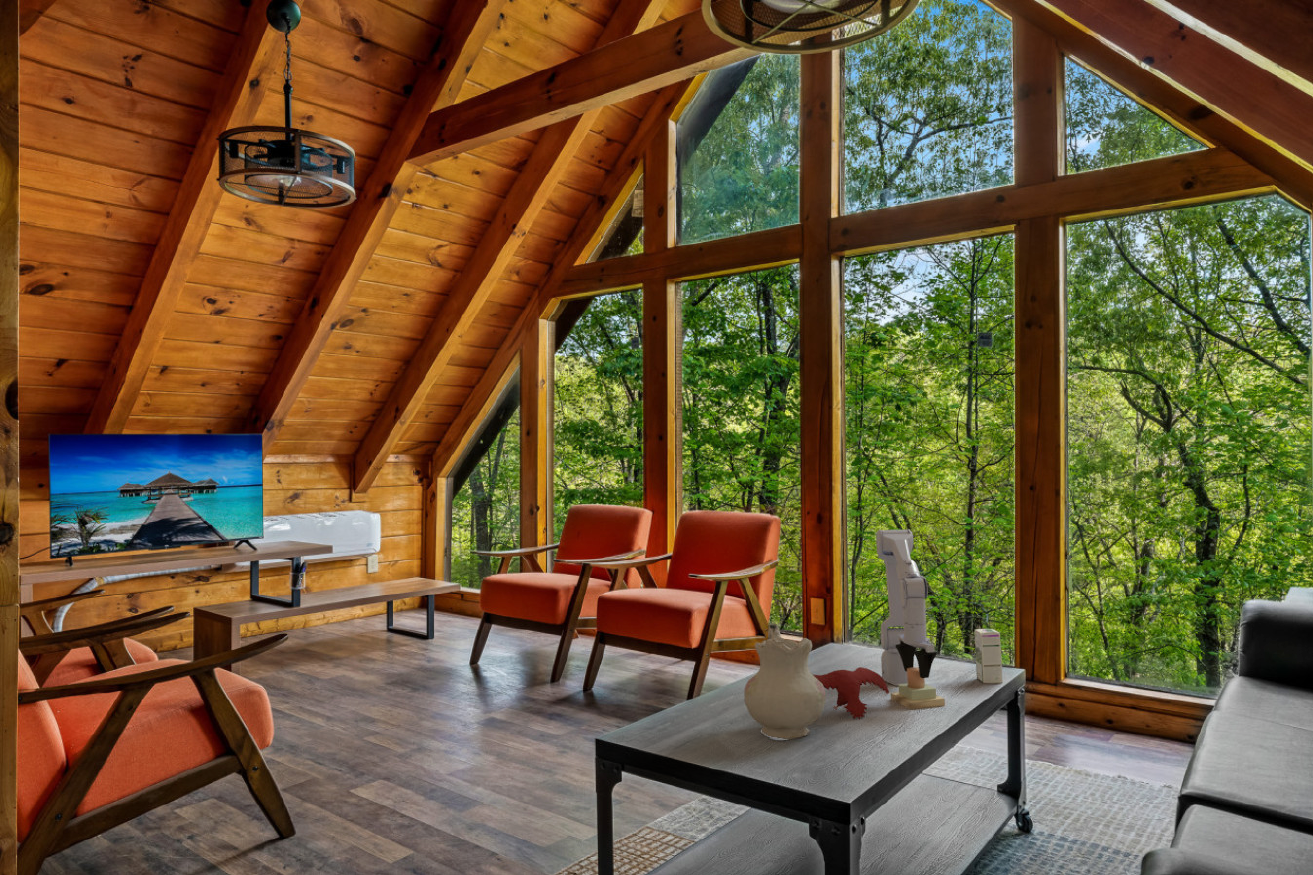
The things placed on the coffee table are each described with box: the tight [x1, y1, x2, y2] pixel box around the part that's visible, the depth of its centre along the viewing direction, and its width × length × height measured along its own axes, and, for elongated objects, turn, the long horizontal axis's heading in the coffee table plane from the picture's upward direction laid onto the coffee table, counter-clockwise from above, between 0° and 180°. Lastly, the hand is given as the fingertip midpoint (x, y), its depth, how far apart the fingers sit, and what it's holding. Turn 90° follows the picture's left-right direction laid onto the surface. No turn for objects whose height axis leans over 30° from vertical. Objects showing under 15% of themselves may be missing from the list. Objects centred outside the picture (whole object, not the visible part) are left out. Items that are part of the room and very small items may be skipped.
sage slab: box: [897, 683, 937, 701], centre depth 229 cm, size 7×7×2 cm
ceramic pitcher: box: [743, 622, 826, 740], centre depth 209 cm, size 22×20×25 cm
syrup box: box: [974, 628, 1003, 684], centre depth 249 cm, size 6×6×14 cm
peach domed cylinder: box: [907, 666, 926, 689], centre depth 229 cm, size 4×4×4 cm
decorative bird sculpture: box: [811, 666, 890, 720], centre depth 222 cm, size 28×9×15 cm
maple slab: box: [890, 691, 946, 710], centre depth 229 cm, size 10×10×2 cm
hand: (916, 674), depth 229 cm, fingers open, 7 cm apart
